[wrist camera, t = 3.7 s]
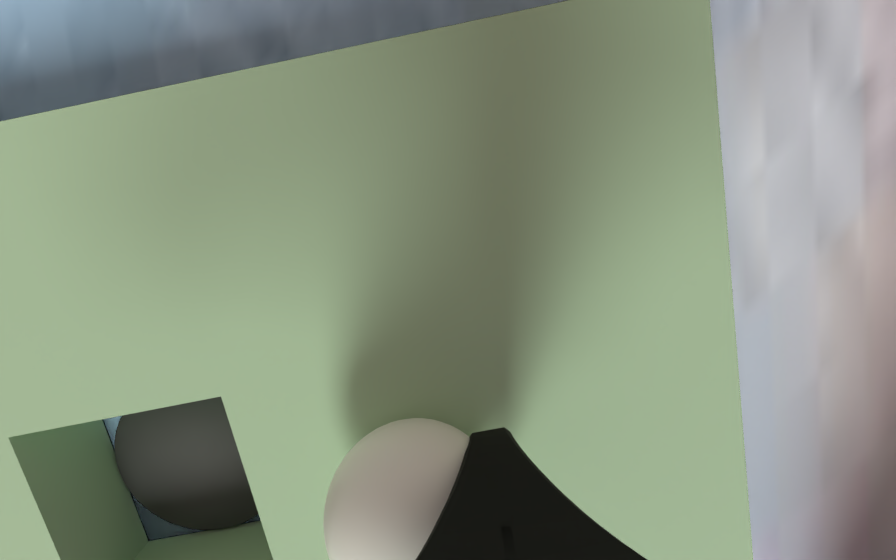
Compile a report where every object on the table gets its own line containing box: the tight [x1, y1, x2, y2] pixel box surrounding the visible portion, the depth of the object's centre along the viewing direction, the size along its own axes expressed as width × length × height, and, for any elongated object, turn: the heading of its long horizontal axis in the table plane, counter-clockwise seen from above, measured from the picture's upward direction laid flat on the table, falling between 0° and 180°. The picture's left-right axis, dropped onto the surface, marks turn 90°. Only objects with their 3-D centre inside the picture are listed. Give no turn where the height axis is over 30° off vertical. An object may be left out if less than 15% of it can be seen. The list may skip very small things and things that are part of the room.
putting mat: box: [0, 0, 753, 560], centre depth 12 cm, size 20×18×2 cm
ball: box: [323, 418, 470, 560], centre depth 9 cm, size 4×4×4 cm
